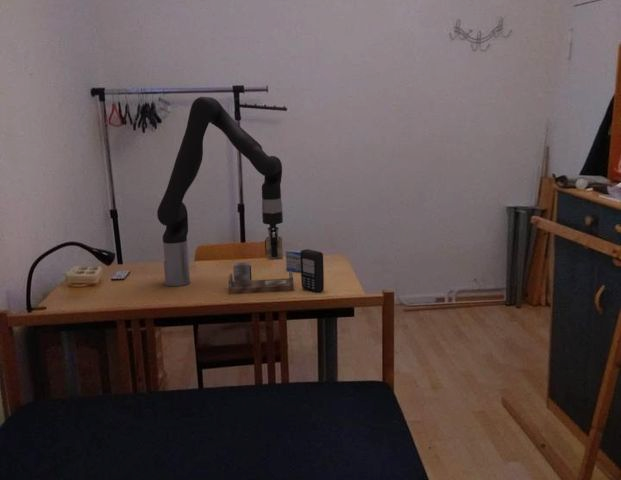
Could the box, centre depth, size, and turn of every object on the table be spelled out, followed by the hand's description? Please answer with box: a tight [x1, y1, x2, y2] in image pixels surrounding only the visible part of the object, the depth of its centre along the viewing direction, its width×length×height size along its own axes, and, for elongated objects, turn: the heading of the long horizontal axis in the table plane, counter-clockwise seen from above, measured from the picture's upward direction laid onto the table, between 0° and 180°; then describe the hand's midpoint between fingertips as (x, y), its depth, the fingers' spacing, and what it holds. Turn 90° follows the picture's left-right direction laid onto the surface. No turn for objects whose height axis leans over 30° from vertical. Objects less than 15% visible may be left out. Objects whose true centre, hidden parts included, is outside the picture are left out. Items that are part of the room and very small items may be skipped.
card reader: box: [300, 248, 325, 293], centre depth 219 cm, size 9×4×15 cm, turn 44°
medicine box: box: [285, 249, 302, 273], centre depth 248 cm, size 8×4×9 cm, turn 62°
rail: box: [227, 262, 295, 295], centre depth 224 cm, size 24×10×10 cm, turn 95°
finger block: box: [264, 235, 284, 261], centre depth 222 cm, size 6×4×8 cm, turn 95°
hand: (274, 255), depth 223 cm, fingers closed on finger block, 4 cm apart
